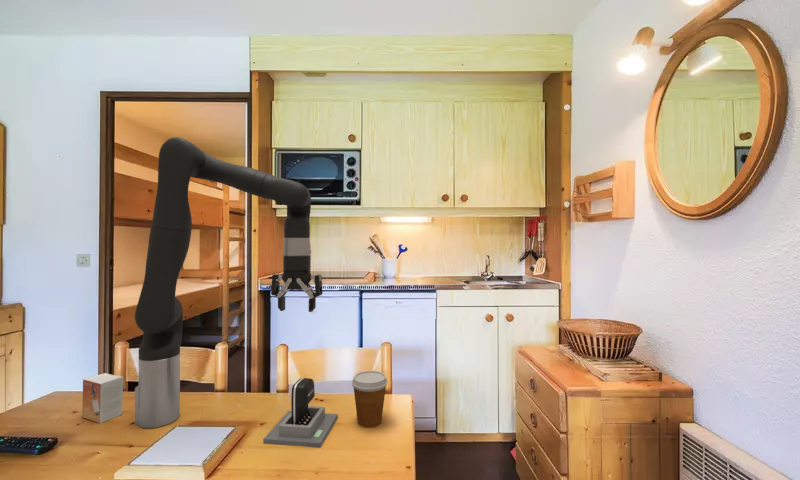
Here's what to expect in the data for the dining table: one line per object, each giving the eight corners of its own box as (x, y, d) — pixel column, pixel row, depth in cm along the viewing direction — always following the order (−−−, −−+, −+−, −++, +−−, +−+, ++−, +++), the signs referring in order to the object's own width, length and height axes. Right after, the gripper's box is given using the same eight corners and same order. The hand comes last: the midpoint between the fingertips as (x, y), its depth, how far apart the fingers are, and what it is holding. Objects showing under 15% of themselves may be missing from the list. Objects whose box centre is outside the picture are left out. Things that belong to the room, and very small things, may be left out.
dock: (263, 443, 85) (263, 428, 85) (288, 414, 99) (288, 402, 99) (320, 447, 83) (320, 432, 83) (337, 417, 97) (337, 404, 97)
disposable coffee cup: (344, 422, 95) (344, 376, 95) (370, 409, 102) (370, 367, 102) (368, 435, 88) (368, 386, 88) (394, 421, 95) (395, 376, 95)
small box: (81, 418, 96) (81, 379, 96) (105, 409, 102) (105, 372, 102) (99, 423, 93) (100, 383, 93) (123, 414, 99) (123, 376, 99)
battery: (305, 433, 87) (305, 386, 87) (290, 432, 88) (290, 385, 88) (316, 419, 94) (316, 376, 94) (302, 418, 94) (302, 375, 95)
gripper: (266, 254, 99) (266, 312, 99) (316, 254, 97) (316, 314, 97) (279, 253, 106) (278, 307, 106) (325, 253, 104) (325, 309, 104)
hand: (296, 310), depth 102 cm, fingers open, 8 cm apart
